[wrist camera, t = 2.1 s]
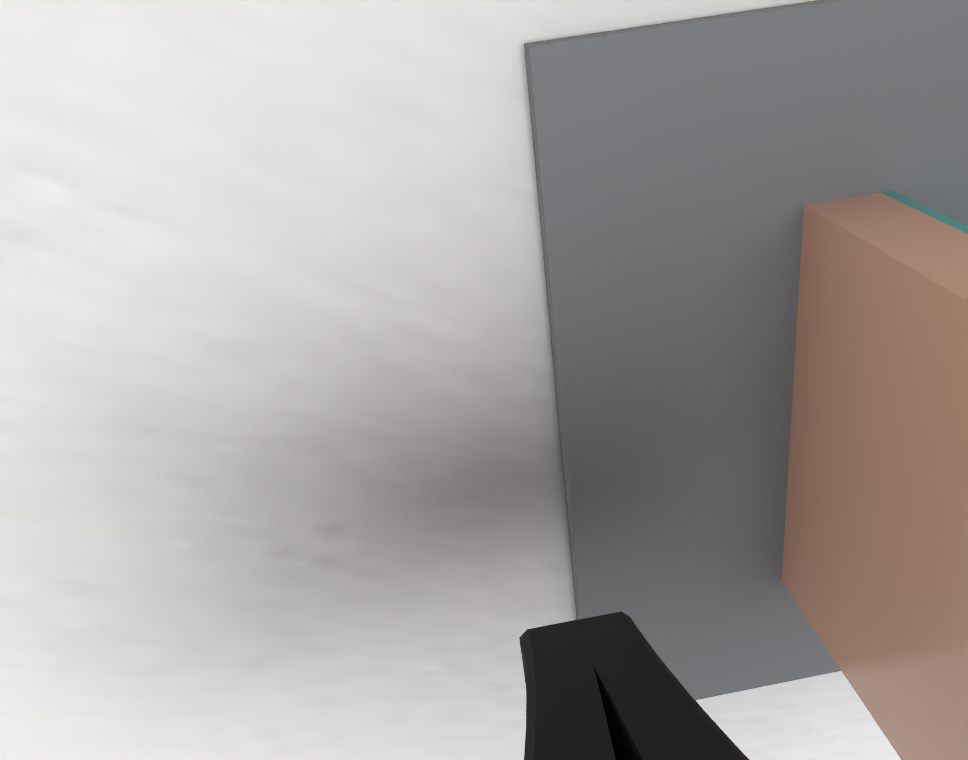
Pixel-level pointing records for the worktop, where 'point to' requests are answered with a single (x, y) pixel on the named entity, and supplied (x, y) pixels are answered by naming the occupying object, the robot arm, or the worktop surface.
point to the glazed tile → (884, 462)
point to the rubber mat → (715, 290)
